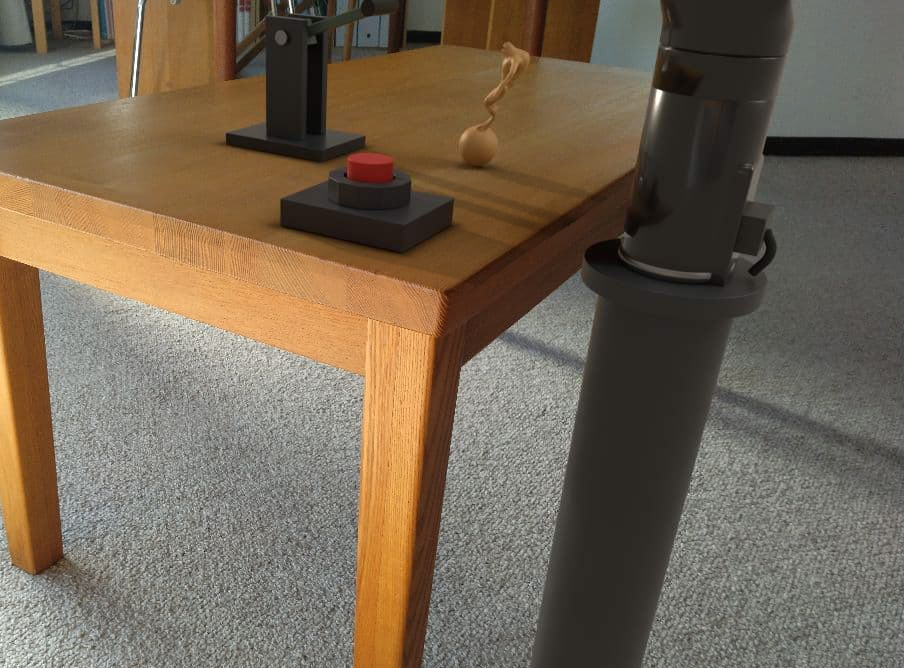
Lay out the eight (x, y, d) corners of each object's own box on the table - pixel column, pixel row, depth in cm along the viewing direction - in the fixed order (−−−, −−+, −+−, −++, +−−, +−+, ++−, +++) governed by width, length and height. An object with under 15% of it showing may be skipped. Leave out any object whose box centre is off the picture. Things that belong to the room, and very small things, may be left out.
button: (400, 179, 71) (401, 157, 70) (378, 189, 68) (380, 166, 68) (361, 172, 73) (362, 150, 72) (338, 181, 70) (339, 158, 69)
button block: (452, 224, 74) (456, 176, 72) (402, 253, 67) (406, 200, 65) (337, 200, 78) (339, 154, 76) (279, 225, 71) (279, 175, 69)
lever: (402, 15, 87) (396, -11, 86) (377, 18, 83) (371, -9, 83) (303, 49, 94) (296, 25, 93) (276, 53, 90) (269, 28, 89)
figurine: (462, 154, 96) (474, 34, 90) (518, 160, 95) (534, 39, 89) (451, 173, 89) (464, 43, 83) (512, 179, 88) (529, 48, 82)
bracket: (365, 146, 97) (371, 19, 91) (321, 162, 90) (324, 25, 84) (273, 130, 102) (273, 8, 96) (225, 144, 95) (222, 13, 89)
